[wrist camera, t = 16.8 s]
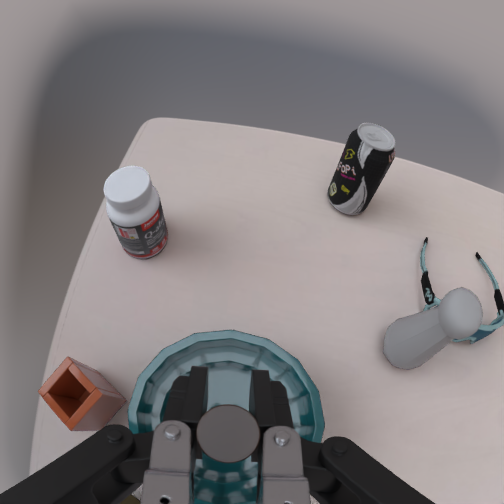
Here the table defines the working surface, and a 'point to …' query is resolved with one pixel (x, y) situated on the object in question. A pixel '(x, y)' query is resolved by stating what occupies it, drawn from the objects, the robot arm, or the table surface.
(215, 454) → the stick
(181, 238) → the table surface
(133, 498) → the cork
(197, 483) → the bowl
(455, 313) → the salt shaker
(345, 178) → the beverage can
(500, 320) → the sunglasses
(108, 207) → the pill bottle
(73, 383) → the holder
